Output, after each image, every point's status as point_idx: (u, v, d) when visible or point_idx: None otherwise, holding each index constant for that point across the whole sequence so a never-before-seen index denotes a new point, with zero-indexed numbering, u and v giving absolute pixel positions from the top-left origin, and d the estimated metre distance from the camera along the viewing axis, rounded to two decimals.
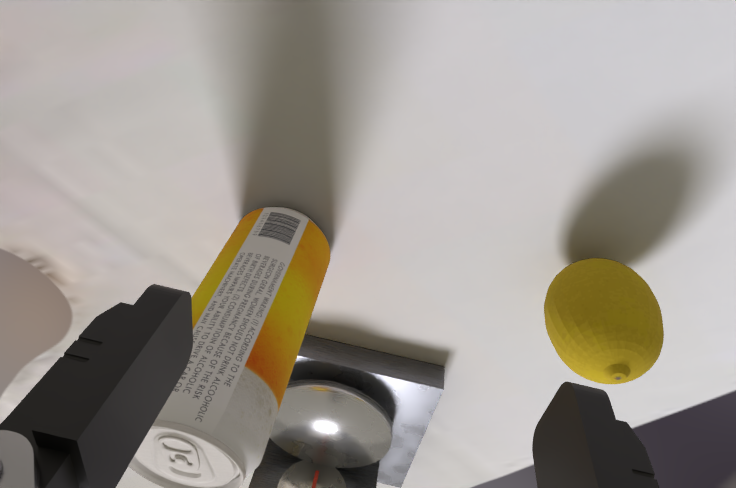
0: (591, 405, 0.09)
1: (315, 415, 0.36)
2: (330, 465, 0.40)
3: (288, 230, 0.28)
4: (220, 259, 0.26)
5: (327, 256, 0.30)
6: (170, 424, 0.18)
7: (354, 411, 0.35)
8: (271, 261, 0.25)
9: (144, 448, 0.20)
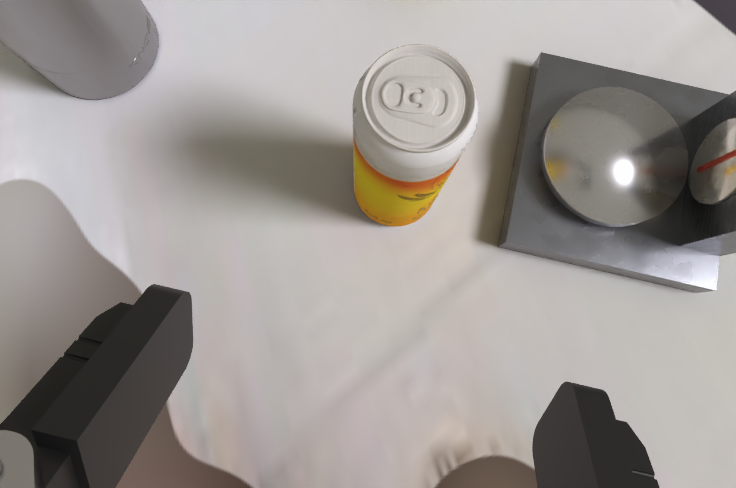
0: (591, 405, 0.09)
1: (588, 160, 0.34)
2: (685, 155, 0.35)
3: None
4: (360, 190, 0.32)
5: None
6: (361, 89, 0.23)
7: (570, 119, 0.35)
8: None
9: (407, 128, 0.23)
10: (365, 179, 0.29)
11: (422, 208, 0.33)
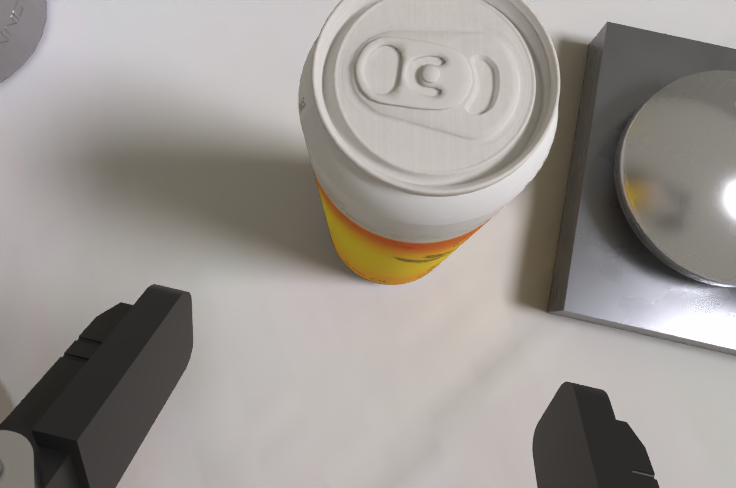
0: (591, 405, 0.09)
1: (693, 183, 0.22)
2: None
3: None
4: (335, 238, 0.20)
5: None
6: (313, 58, 0.11)
7: (662, 120, 0.23)
8: None
9: (413, 142, 0.10)
10: (337, 228, 0.16)
11: (435, 265, 0.20)
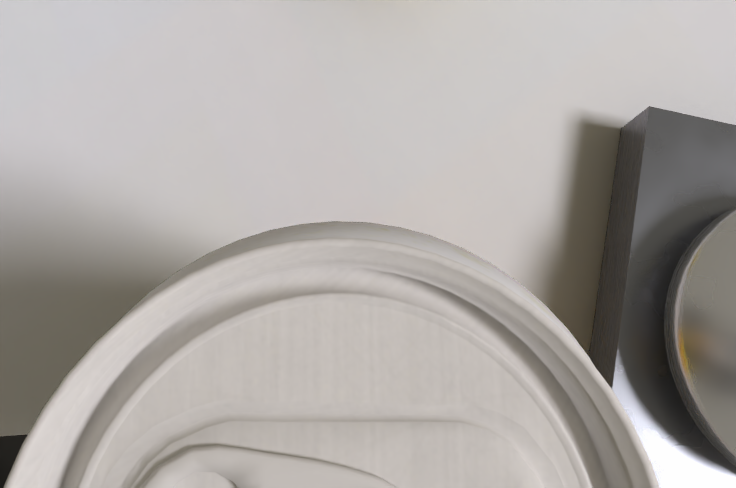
0: None
1: None
2: None
3: None
4: None
5: None
6: None
7: (735, 262, 0.16)
8: None
9: None
10: None
11: None
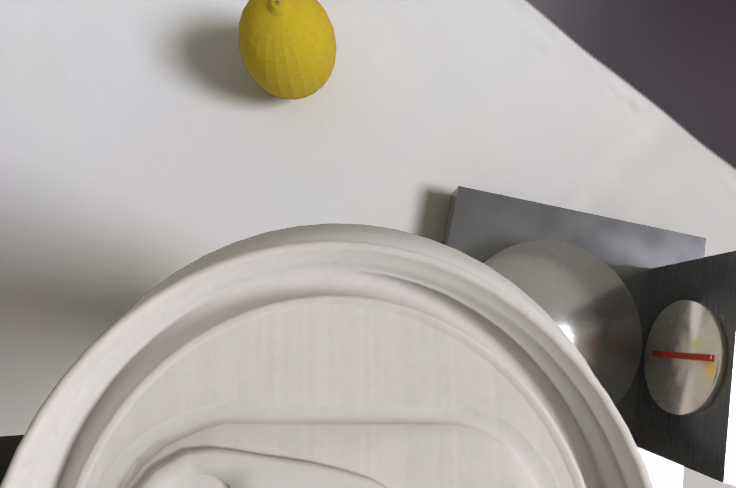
0: None
1: None
2: (637, 332, 0.27)
3: None
4: None
5: None
6: None
7: None
8: None
9: None
10: None
11: None
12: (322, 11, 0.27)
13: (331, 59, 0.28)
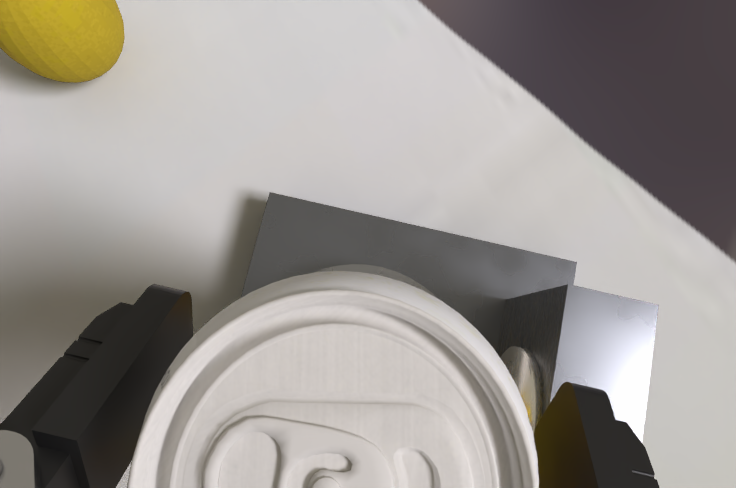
0: (591, 405, 0.09)
1: None
2: None
3: None
4: None
5: None
6: (135, 458, 0.07)
7: None
8: None
9: None
10: None
11: None
12: None
13: (101, 31, 0.23)
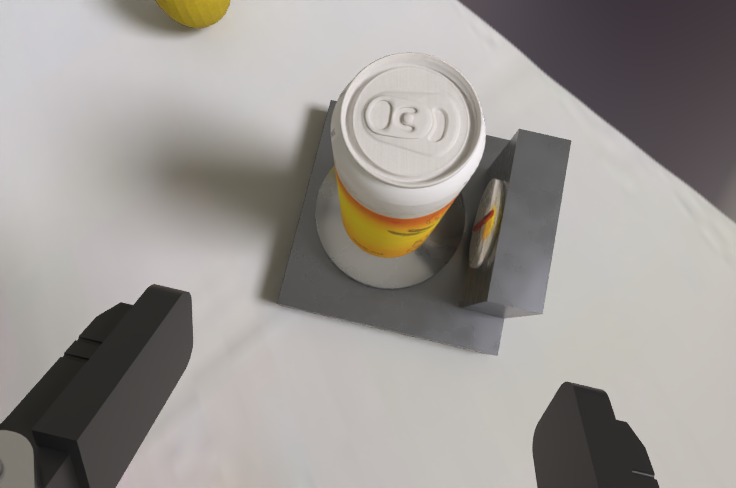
0: (591, 405, 0.09)
1: None
2: (461, 215, 0.33)
3: None
4: (346, 219, 0.27)
5: None
6: (341, 107, 0.18)
7: None
8: None
9: (397, 157, 0.18)
10: (350, 210, 0.24)
11: (418, 241, 0.28)
12: None
13: None
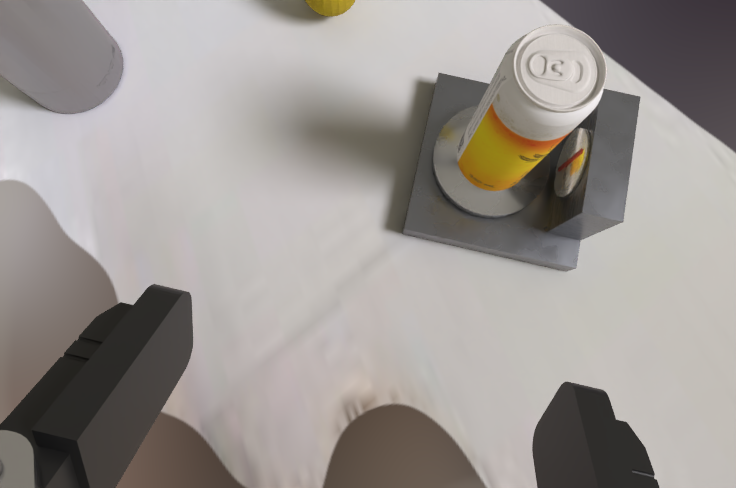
0: (591, 405, 0.09)
1: None
2: (547, 160, 0.43)
3: None
4: (475, 155, 0.37)
5: None
6: (512, 60, 0.28)
7: (455, 130, 0.43)
8: None
9: (551, 92, 0.28)
10: (490, 142, 0.34)
11: (526, 172, 0.38)
12: None
13: None
